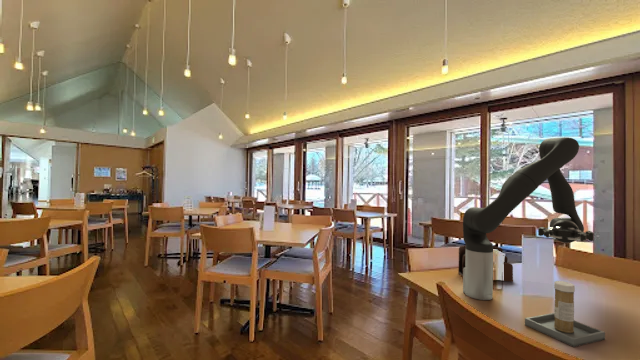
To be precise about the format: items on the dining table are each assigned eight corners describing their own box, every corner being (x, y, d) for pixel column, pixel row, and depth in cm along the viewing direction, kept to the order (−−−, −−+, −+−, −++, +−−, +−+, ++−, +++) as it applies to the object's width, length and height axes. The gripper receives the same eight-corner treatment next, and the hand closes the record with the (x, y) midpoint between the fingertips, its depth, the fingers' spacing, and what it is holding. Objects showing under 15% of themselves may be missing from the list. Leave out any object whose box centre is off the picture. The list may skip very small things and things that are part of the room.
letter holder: (457, 273, 143) (458, 243, 143) (501, 275, 141) (501, 245, 142) (466, 280, 133) (466, 248, 133) (513, 282, 131) (513, 250, 132)
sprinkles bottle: (554, 324, 89) (555, 279, 90) (574, 330, 86) (575, 283, 86) (552, 329, 86) (553, 282, 86) (573, 335, 83) (574, 286, 83)
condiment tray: (524, 324, 90) (524, 318, 90) (554, 319, 94) (554, 312, 95) (573, 347, 78) (574, 339, 78) (604, 339, 82) (604, 332, 82)
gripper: (541, 218, 113) (537, 222, 100) (592, 222, 104) (594, 226, 91) (540, 238, 113) (536, 244, 100) (591, 244, 104) (594, 251, 91)
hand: (564, 236), depth 96 cm, fingers open, 8 cm apart
